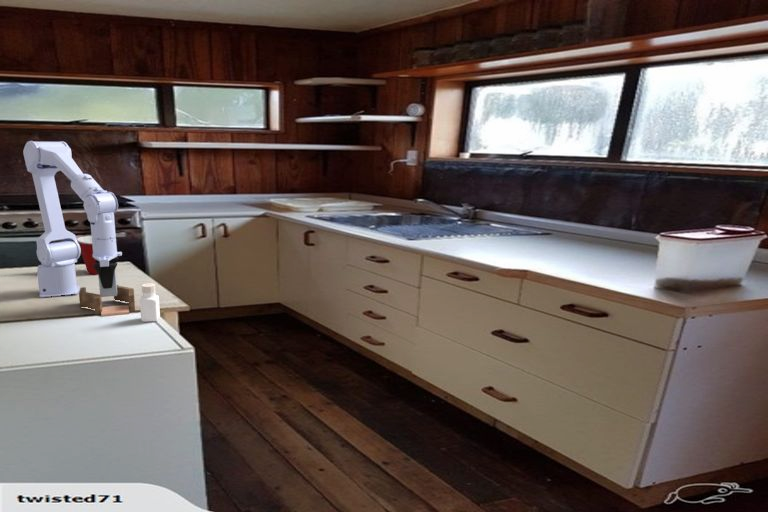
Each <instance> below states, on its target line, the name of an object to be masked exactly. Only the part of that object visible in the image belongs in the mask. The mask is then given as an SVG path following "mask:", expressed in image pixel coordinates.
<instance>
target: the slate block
mask: <svg viewBox="0 0 768 512" xmlns="http://www.w3.org/2000/svg"><path fill="white" fill-rule="evenodd" d="M116 269H117V268H115V271H114V275H113V285H112V288H107V289H103V287H102V284H101V280H100V277H99V275H97V277H98V283H99V284H98V286H99V295H101V298H108V297H109V298H110V297H114V296H117V285H118V283H117V271H116Z"/></svg>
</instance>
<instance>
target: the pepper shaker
mask: <svg viewBox="0 0 768 512" xmlns="http://www.w3.org/2000/svg"><path fill="white" fill-rule="evenodd" d="M141 291H142V292H141V294H142V296H141V297H140V299H139V305H140V320H141V322H147V323H149V322H151V323H152V322H157V321H158V320H159V318H160V316H161V312H160V311H161V310H160V297H159V295H157V294H156V292H157V291H156V284H155V283H152V282H151V283H149V282H148V283H143V284H142V285H141Z"/></svg>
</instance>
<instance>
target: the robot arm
mask: <svg viewBox="0 0 768 512" xmlns="http://www.w3.org/2000/svg"><path fill="white" fill-rule="evenodd" d="M22 153H23V157H24V158H23V159H24V162H25V167H26V170H27V172H29V173H30V174H32V175H31V176H32V180H33V183H34V187H35V193H36V198H37V201H38V205H39V210H40V214H41V219H42V223H43V228H44V232H43V233H42V234H41V235H40V236H39V237H38V238H37V239H36V241H35V242H36V257H37V259H38V261H39V262H40V263H41V264H43V265H41V264H39V265H38V266H37V269H36V271H37V282H38V292H39V298H49V297H51V296H52V297H62V296H61V295H65V296H72V295H71V294H77V295H79V291H80V288H81V286H80V285H78V283H77V274H76V273H77V272H76V271H77V270H76V264H75V263H78V259H79V258H80V256H81V254H82V252H81V248H80V245H79V243H78V241H77V239H78V238H77V236H76V234H74V233H73V232H71V231H69V230H67V228H66V226H65V220H64V216H63V211H62V208H61V204H60V198H59V192H58V189H57V185H56V183H57V182H56V180H55V175H56V174H57V172H62V173H63V174H64V175H65V176H66V178H67V179H68V180H70V187H71V189H72V190H73V191H74V192H75V193H76V195H77V196H78V197H79V198H80V199H81V200H82V202H83V208H84V212H85V213H86V217H87V220H88V222H89V223H90V232H91V233H90V235H91V236H92V245H93V258H95V262H96V263H94V264H93V267H94V268H95V270H96V271H97V273H98V275H99V276H98V275H97V276H98V278H99V277H100V280H101V284H102V287H103V289H107V288H112V285H113V275H114V271H115V269H117V266H118V263H117V262H118V260H119V257H121V256H122V255H123V252H122V251H118V247H117V235H116V225H115V224H116V223H115V222H116V221H115V213H117V211H118V209H119V203H118V199H117V197H116V195H115V194H114V193H113V192H111V191H107V190H104V189H103V188H102V187H101V185H100V184H99V183H98V182H97V181H96V180H95V178H93V177H92V175H91V174H88V173H83V171H82V170H81V168H80V167H79V166H78V164H77V163H76V161H75V160H74V159H73V158H72V155H73V154H72V149H71V147H70V146H69V145H68V143H67V142H65V141H64V140H63V141H61V140H60V141H33V140H28V141H26V143H25V145H24V148H23V152H22ZM59 240H60V241H59Z"/></svg>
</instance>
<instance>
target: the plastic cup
mask: <svg viewBox="0 0 768 512" xmlns="http://www.w3.org/2000/svg"><path fill="white" fill-rule="evenodd" d="M76 239H77V242H78V244H79V245H80V248H81V254H82V258H83V261H84V265H85V269H86V272H87V274H88V275H91V276H92V275H93V276H98V273H97V271H96V270H95V268H94V267H93V264H94V263H96V262H95V258H93V245H92V235H87V236H86V235H85V236H81V237H78V238H76Z"/></svg>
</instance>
